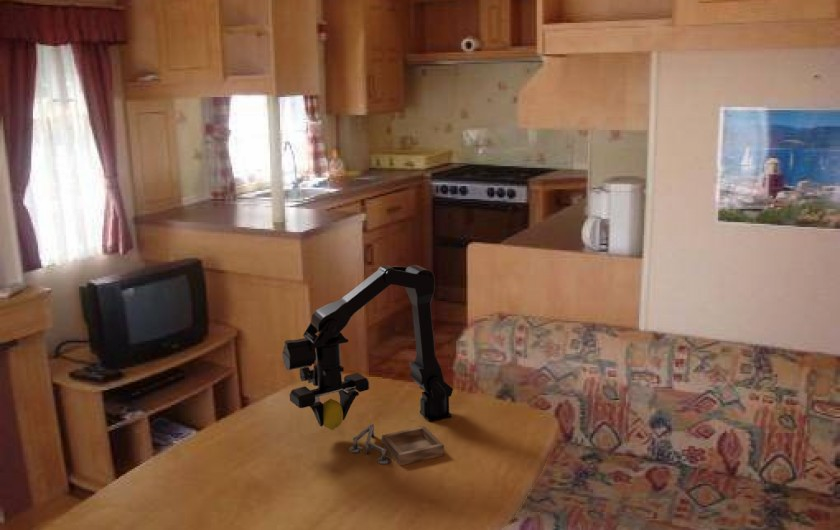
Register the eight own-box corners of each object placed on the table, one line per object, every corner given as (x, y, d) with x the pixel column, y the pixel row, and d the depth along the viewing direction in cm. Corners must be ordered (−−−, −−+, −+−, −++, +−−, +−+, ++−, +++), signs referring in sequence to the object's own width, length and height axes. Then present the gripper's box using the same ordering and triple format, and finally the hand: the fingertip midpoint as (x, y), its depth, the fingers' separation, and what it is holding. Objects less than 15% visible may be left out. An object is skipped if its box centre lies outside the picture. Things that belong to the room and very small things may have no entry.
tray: (424, 435, 191) (424, 425, 190) (444, 455, 181) (443, 444, 180) (382, 445, 186) (381, 435, 186) (400, 465, 177) (399, 455, 176)
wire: (373, 434, 192) (372, 423, 191) (396, 461, 178) (396, 449, 178) (342, 441, 189) (341, 430, 188) (363, 469, 175) (363, 457, 175)
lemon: (345, 425, 192) (344, 394, 190) (341, 435, 187) (339, 404, 185) (323, 424, 193) (321, 394, 191) (318, 434, 187) (316, 403, 185)
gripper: (346, 344, 197) (349, 401, 201) (277, 360, 187) (282, 421, 191) (369, 356, 188) (371, 417, 192) (298, 375, 178) (302, 438, 182)
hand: (331, 422), depth 189 cm, fingers closed on lemon, 5 cm apart
